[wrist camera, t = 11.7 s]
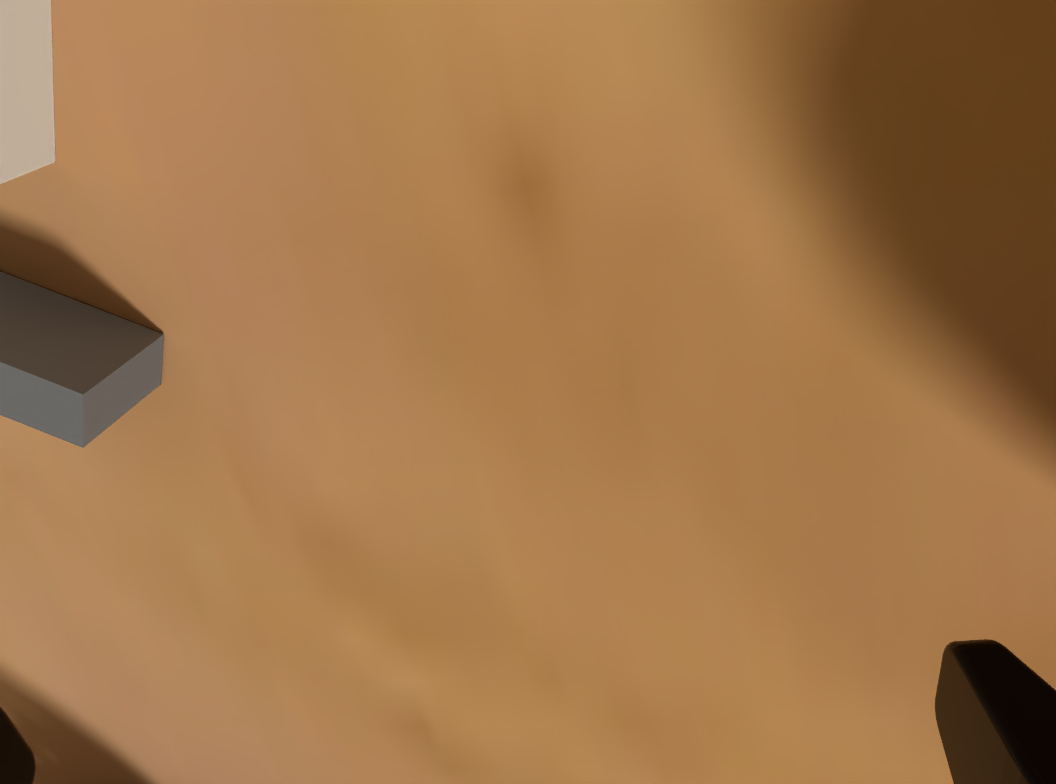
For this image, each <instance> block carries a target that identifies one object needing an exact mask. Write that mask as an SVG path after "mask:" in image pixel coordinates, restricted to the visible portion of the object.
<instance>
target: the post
mask: <svg viewBox="0 0 1056 784" xmlns="http://www.w3.org/2000/svg"><path fill="white" fill-rule="evenodd" d="M54 162H55V133H54V96H53V59H52V21H51V0H0V184H2V183H4V182H7V181H9V180H12V179H14V178H17V177H19V176H22V175H24V174H27V173H29V172H32V171H34V170H37V169H39V168H42V167H44V166H47V165H49V164H52V163H54Z"/></svg>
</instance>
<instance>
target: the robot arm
mask: <svg viewBox="0 0 1056 784" xmlns="http://www.w3.org/2000/svg"><path fill="white" fill-rule="evenodd" d="M935 713H936V720H937V725H938V729H939V733H940V736H941V740H942V743H943V747H944V750H945V754H946V758H947V761H948V765H949V768H950V772H951V775H952V779H953V782H954V784H1056V690H1055V689H1054V688H1052V687H1051V686H1050V685H1049V684H1048V683H1047V682H1045V681H1044V680H1043V679H1042V678H1041V677H1040V676H1038V675H1037V674H1036V673H1035V672H1034V671H1033V670H1031V669H1030V668H1029V667H1028V666H1027V665H1026V664H1025V663H1023V662H1022V661H1021V660H1020V659H1019V658H1018V657H1016V656H1015V655H1014V654H1013V653H1012V652H1011V651H1009V650H1008V649H1007V648H1006V647H1005V646H1003V645H1002V644H1000V643H998V642H996V641H994V640H987V639H984V640H969V641H954V642H951V643H949V644H948V645H947V646H946V647H945V650H944V652H943V657H942V663H941V669H940V675H939V680H938V686H937V692H936V698H935ZM35 768H36V765H35V757H34V754H33V751H32V750H31V748H30V747H29V745H28V744H27V742H26V741H25V739H24V738H23V737H22V735H21V734H20V732H19V731H18V729H17V728H16V727H15V725H14V724H13V722H12V721H11V720H10V718H9V717H8V715H7V714H6V712H5V711H4V710H3V709H2V708H1V707H0V784H33V781H34V777H35Z"/></svg>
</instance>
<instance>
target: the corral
mask: <svg viewBox="0 0 1056 784" xmlns="http://www.w3.org/2000/svg"><path fill="white" fill-rule="evenodd" d="M163 341H164V334H162V333H159V332H156V331H154V330H151V329H149V328H146V327H143V326H141V325H138V324H136V323H133V322H131V321H128V320H125V319H123V318H120V317H118V316H115V315H112V314H110V313H107V312H105V311H102V310H99V309H97V308H94V307H92V306H89V305H86V304H84V303H81V302H79V301H76V300H74V299H71V298H68V297H66V296H63V295H61V294H58V293H55V292H53V291H50V290H48V289H45V288H42V287H40V286H37V285H35V284H32V283H29V282H27V281H24V280H22V279H19V278H17V277H14V276H11V275H9V274H6V273H4V272H1V271H0V415H2V416H5V417H7V418H10V419H12V420H15V421H17V422H20V423H22V424H25V425H27V426H30V427H32V428H35V429H37V430H40V431H42V432H45V433H47V434H50V435H52V436H55V437H57V438H60V439H62V440H65V441H67V442H70V443H72V444H75V445H78V446H80V447H83V448H84V447H85V446H86V445H87V444H88V443H90V442H91V441H92V440H93V439H94V438H96V437H97V436H98V435H99V434H101V433H102V432H103V431H104V430H105V429H107V428H108V427H109V426H110V425H112V424H113V423H114V422H115V421H116V420H118V419H119V418H120V417H121V416H122V415H124V414H125V413H126V412H127V411H129V410H130V409H131V408H132V407H133V406H135V405H136V404H137V403H138V402H140V401H141V400H142V399H143V398H144V397H146V396H147V395H148V394H149V393H151V392H152V391H153V390H154V389H155V388H157V387H158V386H159V385H160V384H161V376H162V358H163Z"/></svg>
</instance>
